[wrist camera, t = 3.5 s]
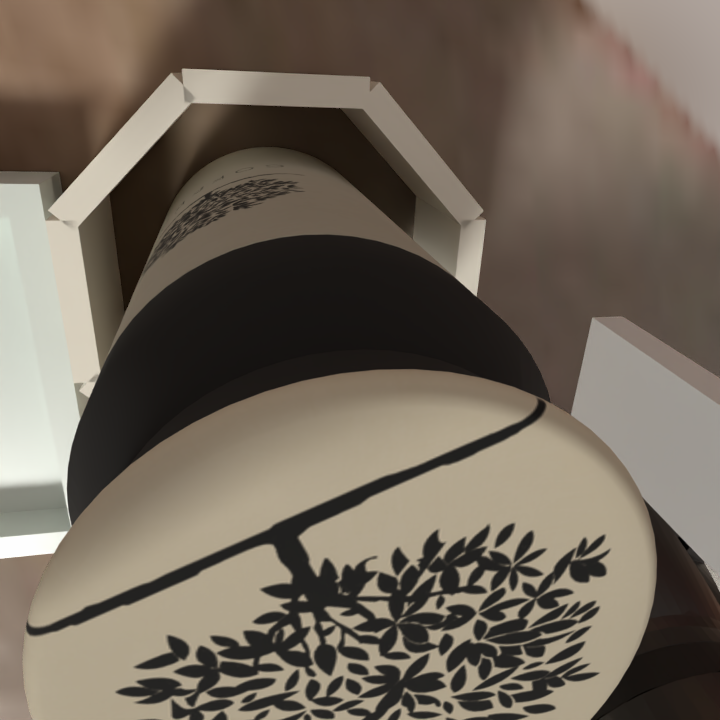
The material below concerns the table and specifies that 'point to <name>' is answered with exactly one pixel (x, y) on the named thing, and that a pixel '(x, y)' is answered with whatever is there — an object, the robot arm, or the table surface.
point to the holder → (179, 90)
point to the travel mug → (329, 488)
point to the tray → (33, 373)
